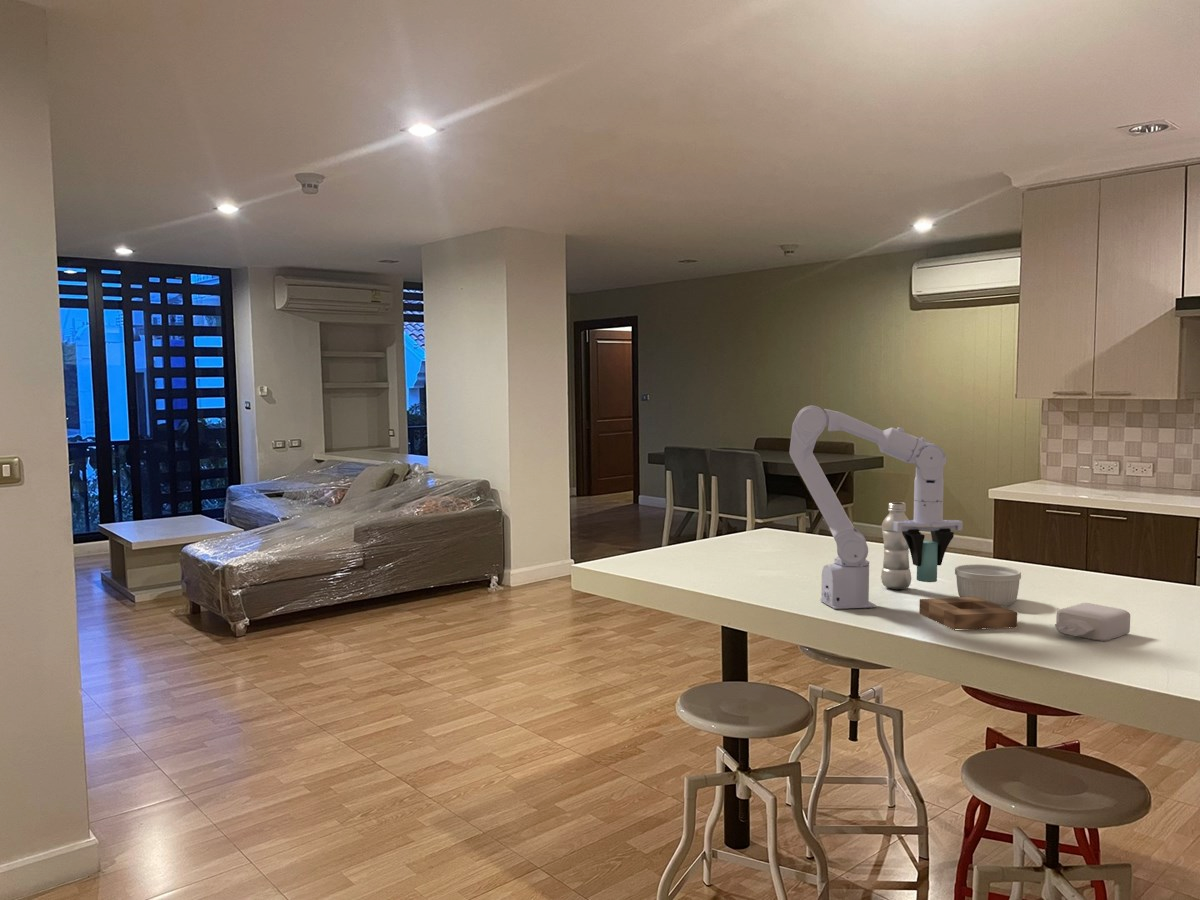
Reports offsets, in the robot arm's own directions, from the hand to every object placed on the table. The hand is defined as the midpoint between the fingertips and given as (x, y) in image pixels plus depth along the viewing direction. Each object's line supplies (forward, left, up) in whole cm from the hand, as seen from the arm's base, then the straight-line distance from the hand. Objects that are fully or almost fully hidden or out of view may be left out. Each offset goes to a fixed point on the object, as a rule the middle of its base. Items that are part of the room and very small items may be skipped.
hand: (927, 564), depth 179 cm
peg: (0, 0, -3) cm, 3 cm away
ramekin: (+17, +5, -10) cm, 20 cm away
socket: (+3, -10, -9) cm, 14 cm away
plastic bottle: (+3, +19, -10) cm, 21 cm away
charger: (+19, -23, -10) cm, 31 cm away
